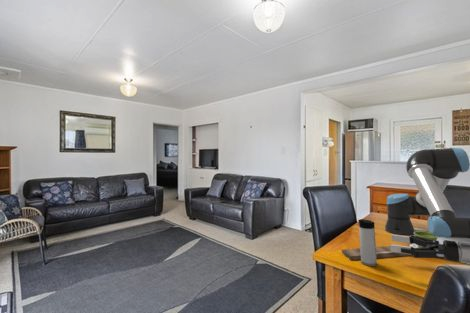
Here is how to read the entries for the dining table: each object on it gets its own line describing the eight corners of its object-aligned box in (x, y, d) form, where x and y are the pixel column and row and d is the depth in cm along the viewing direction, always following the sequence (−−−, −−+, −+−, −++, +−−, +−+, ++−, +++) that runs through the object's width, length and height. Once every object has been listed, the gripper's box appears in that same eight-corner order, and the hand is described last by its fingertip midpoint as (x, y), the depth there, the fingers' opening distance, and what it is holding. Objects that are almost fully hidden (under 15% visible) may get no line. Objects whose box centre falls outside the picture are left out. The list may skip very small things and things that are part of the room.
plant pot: (433, 248, 119) (432, 231, 119) (443, 256, 110) (442, 237, 110) (411, 247, 122) (410, 230, 122) (419, 254, 113) (418, 236, 113)
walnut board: (398, 249, 120) (397, 245, 120) (410, 255, 112) (410, 251, 112) (342, 253, 118) (341, 249, 118) (350, 260, 110) (350, 256, 110)
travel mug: (357, 260, 109) (355, 218, 110) (370, 259, 110) (368, 217, 110) (365, 267, 103) (363, 222, 103) (380, 265, 104) (377, 220, 104)
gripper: (466, 275, 79) (390, 262, 91) (452, 250, 99) (392, 241, 111) (464, 253, 79) (389, 243, 91) (451, 232, 99) (391, 226, 111)
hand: (391, 242), depth 101 cm, fingers open, 13 cm apart
